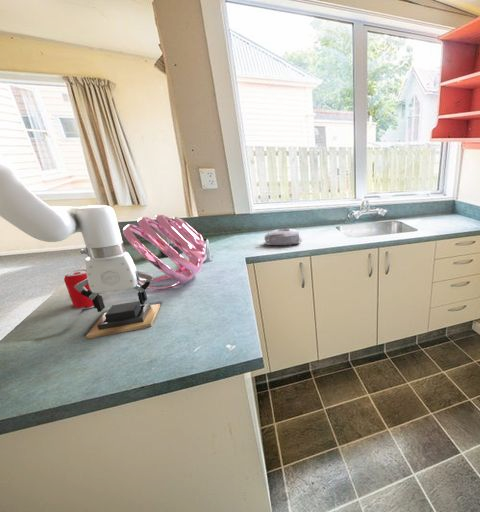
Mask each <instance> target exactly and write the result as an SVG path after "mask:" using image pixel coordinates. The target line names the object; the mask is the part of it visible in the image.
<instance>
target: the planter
mask: <svg viewBox="0 0 480 512" xmlns="http://www.w3.org/2000/svg"><path fill="white" fill-rule="evenodd" d="M203 240H204V241H205V243H206V247H205V252H206V254H207V257H206V260H205V261H204V262H203V263H208V262H207V261H209V262H212V260H213V259H212V253H211V248H210V242H209V239H208V238H203ZM198 244H199V243H198ZM199 245H200V244H199Z"/></svg>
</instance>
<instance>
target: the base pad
mask: <svg viewBox="0 0 480 512" xmlns="http://www.w3.org/2000/svg"><path fill="white" fill-rule="evenodd" d="M160 308H161V303H155V304H150V303H144V305H141V309H142V312H141V314H140V316H139V317H134V318H129V319H123V320H117V321H112V322H107V320H106V317H105V314H106V313H107V312H108V311H106V312H104V313H103V314H102V315H101V317H99V319H98V321H96V323H95V324H94V325H93V327H92V328H91V329H90V331H89V332H88V333H87V334H86V338H87V339H88V340H89V339H95V338H100V337H104V336H110V335H114V334H120V333H126V332H130V331H131V332H132V331H134V330H142V329H145V328H152V326H153V324H154V322H155V319H156V317H157V316H158V313H159V311H160Z"/></svg>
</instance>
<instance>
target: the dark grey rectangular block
mask: <svg viewBox="0 0 480 512" xmlns="http://www.w3.org/2000/svg"><path fill="white" fill-rule="evenodd" d="M106 312H107V313H106ZM106 312H105V313H106V314H105V317H106V320H107V322H112V321H117V320H123V319H129V318H134V317H139V316H140V314H141V312H142V309H141V305H140V301H139V300H137V301H131V302H130V301H129V302H124V303H118V304H112V305H111V306H110V308H109V309H108V310H107V311H106Z"/></svg>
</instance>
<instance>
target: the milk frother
mask: <svg viewBox="0 0 480 512" xmlns="http://www.w3.org/2000/svg"><path fill="white" fill-rule="evenodd" d="M174 229H175V228H174ZM153 230H154V231H155V232H156V233H157V234H158V235H159V236H160V237H161V238H162V239H163V240H164V241H165V242H166V243H167V244H168V245H170V246H171V247H172V248H173V249H174V250H175V251H176V252H178V253H179V254H180V255H181V254H182V253H183V252H182V251H181V250H180V249H179V248H178V247H177V246H176V245H175V244H174V243H173V242H172V241H170V240H169V239H168V238H167V237H166V236H164V235H163V234H162V233H160V232H159V231H158V230H156V229H155V228H154V227H153ZM175 230H176V229H175ZM176 231H177V230H176ZM177 232H178V231H177ZM182 237H183V238H184V239H185V240H187V239H186V238H185V237H184V236H183V235H182ZM187 241H188V240H187ZM188 242H189V241H188ZM189 243H190V242H189ZM190 244H191V243H190ZM159 253H160V257H163V256H164V257H165V258H167V256H166V255H165V254H164V253H163V252H162V251H161V250H159ZM164 257H163V258H164Z"/></svg>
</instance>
